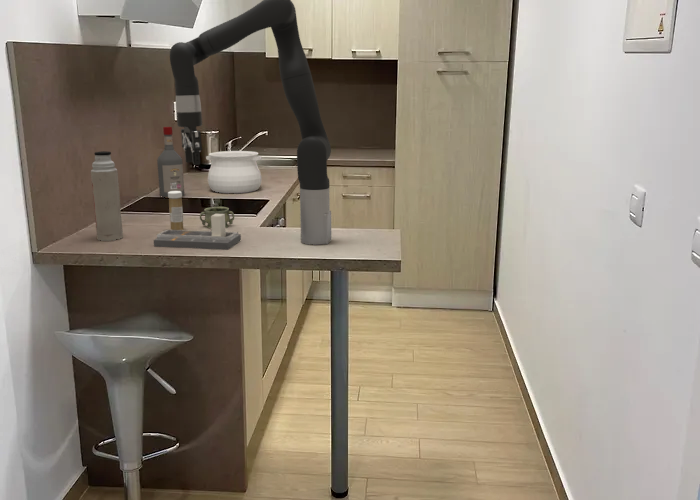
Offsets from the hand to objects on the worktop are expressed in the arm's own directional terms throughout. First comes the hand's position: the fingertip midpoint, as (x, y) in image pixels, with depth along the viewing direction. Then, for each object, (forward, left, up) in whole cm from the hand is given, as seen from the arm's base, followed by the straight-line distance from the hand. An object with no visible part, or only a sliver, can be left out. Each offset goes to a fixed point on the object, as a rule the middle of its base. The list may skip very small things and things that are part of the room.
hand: (193, 163), depth 214 cm
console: (-2, +4, -25) cm, 25 cm away
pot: (+21, -97, -25) cm, 102 cm away
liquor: (+42, -75, -25) cm, 89 cm away
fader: (-9, +4, -22) cm, 24 cm away
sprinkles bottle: (+12, -12, -25) cm, 30 cm away
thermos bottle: (+29, +2, -25) cm, 38 cm away
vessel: (+1, -21, -25) cm, 32 cm away
